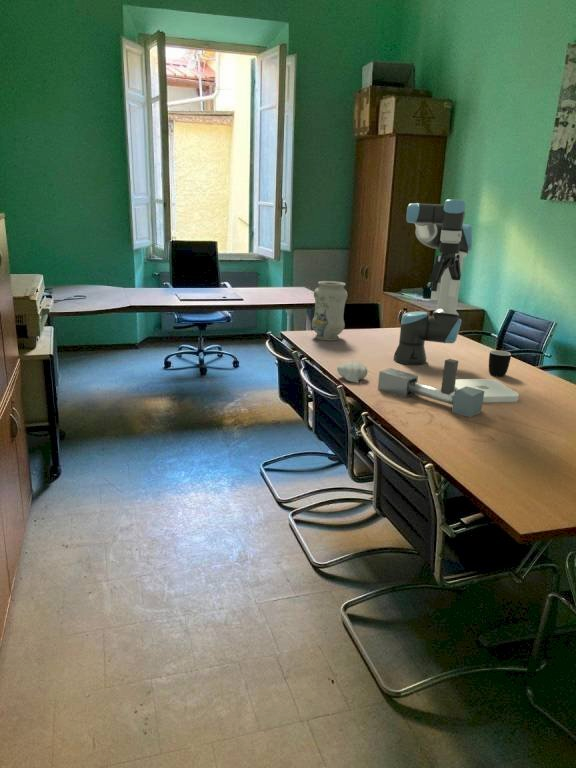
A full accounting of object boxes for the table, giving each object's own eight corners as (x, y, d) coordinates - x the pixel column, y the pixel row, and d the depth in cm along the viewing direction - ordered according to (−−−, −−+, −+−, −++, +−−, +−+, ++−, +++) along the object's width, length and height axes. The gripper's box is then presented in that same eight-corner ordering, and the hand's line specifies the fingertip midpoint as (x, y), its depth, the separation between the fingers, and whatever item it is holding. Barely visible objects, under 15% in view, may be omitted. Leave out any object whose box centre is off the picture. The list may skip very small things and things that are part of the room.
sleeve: (377, 389, 230) (379, 371, 227) (388, 385, 235) (390, 368, 233) (405, 397, 221) (407, 379, 219) (416, 393, 227) (418, 375, 224)
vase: (327, 332, 322) (330, 279, 313) (351, 339, 310) (355, 283, 301) (304, 336, 311) (307, 281, 301) (328, 343, 298) (331, 285, 289)
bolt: (401, 391, 224) (406, 351, 219) (407, 389, 227) (412, 349, 222) (463, 409, 207) (469, 366, 202) (468, 406, 210) (475, 364, 205)
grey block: (451, 412, 208) (454, 391, 206) (463, 406, 214) (466, 386, 212) (469, 417, 204) (473, 396, 201) (481, 411, 210) (484, 390, 207)
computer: (521, 402, 223) (522, 395, 222) (468, 403, 219) (469, 397, 218) (492, 384, 243) (493, 378, 243) (444, 385, 239) (444, 379, 239)
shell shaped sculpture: (345, 372, 251) (347, 358, 249) (371, 378, 244) (373, 363, 242) (330, 378, 241) (331, 364, 239) (356, 385, 234) (358, 370, 232)
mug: (510, 378, 252) (513, 356, 249) (489, 376, 253) (492, 354, 250) (502, 370, 263) (506, 349, 260) (482, 369, 264) (486, 347, 261)
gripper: (442, 243, 206) (435, 302, 213) (474, 242, 223) (466, 296, 230) (424, 242, 211) (417, 299, 217) (456, 240, 228) (450, 293, 235)
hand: (443, 298), depth 224 cm, fingers open, 13 cm apart
